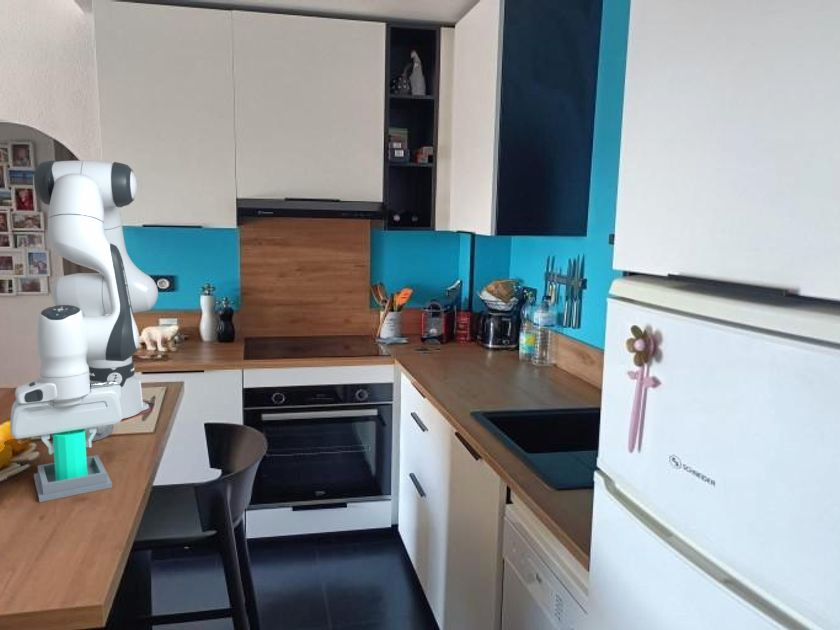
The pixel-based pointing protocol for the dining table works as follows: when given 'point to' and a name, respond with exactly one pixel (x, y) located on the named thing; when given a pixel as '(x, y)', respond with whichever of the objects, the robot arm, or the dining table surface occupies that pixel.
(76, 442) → the candle
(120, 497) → the dining table surface
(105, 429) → the dish
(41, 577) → the dining table surface
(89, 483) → the holder
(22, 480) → the dining table surface
